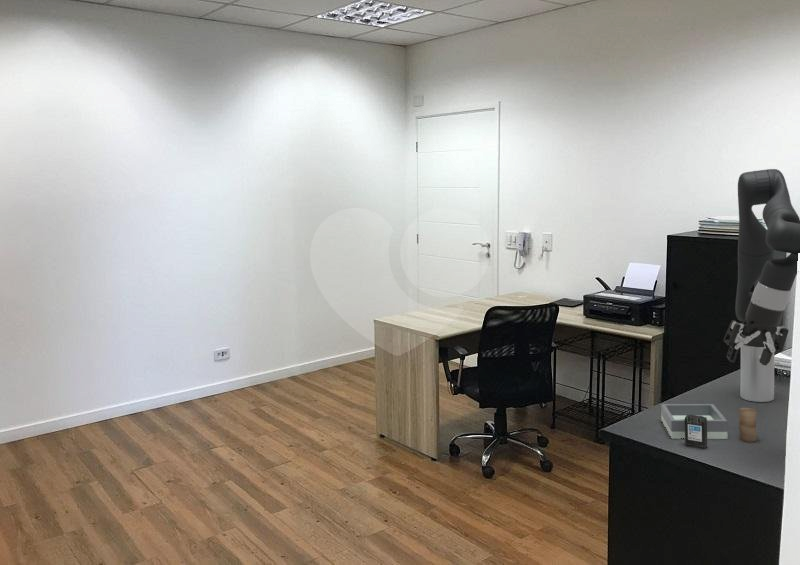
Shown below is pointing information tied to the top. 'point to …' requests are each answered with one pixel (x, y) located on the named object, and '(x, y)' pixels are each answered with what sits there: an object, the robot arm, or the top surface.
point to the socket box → (677, 412)
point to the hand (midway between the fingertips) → (746, 362)
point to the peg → (747, 424)
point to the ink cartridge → (696, 431)
